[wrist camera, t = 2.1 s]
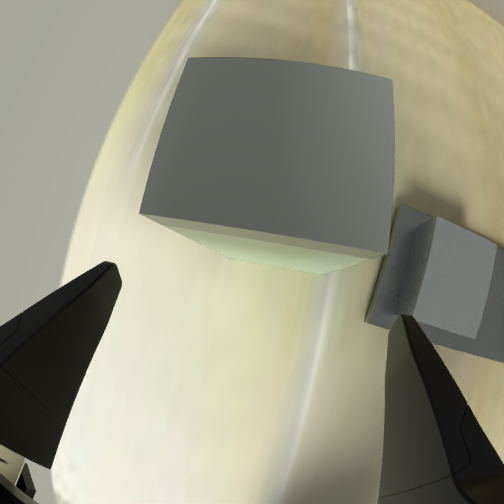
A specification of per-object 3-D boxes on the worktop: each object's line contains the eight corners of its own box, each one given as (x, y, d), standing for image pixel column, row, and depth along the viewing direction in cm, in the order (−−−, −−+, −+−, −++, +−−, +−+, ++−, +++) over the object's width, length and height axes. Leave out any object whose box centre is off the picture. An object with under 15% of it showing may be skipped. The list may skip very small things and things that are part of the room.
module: (322, 275, 19) (387, 253, 6) (232, 259, 20) (139, 213, 7) (333, 200, 20) (392, 79, 7) (245, 187, 20) (188, 57, 8)
